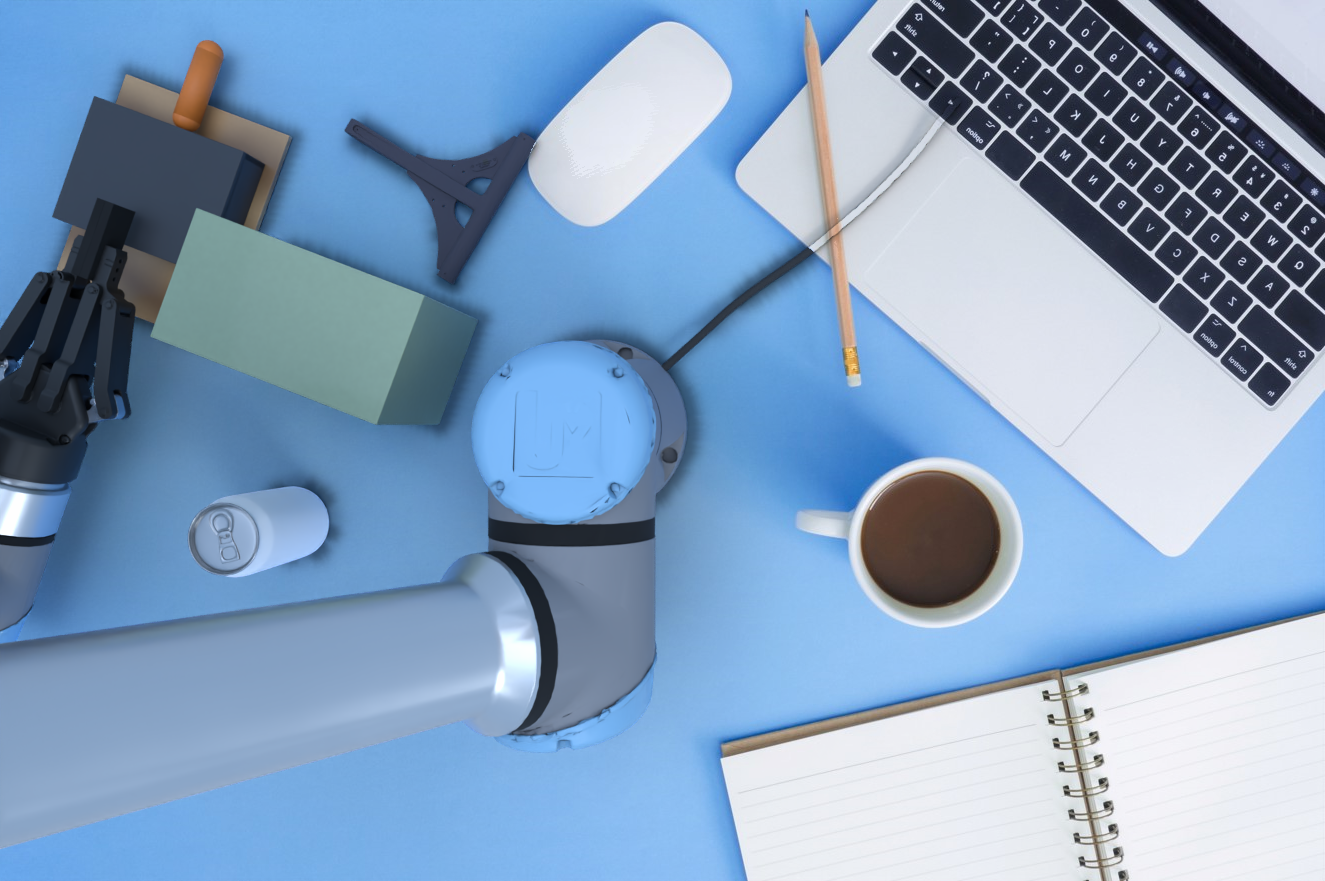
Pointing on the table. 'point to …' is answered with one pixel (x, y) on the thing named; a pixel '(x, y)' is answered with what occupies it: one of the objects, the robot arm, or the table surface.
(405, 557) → the table surface
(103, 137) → the block with orange grip
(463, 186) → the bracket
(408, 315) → the stand
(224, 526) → the can
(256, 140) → the cork mat
